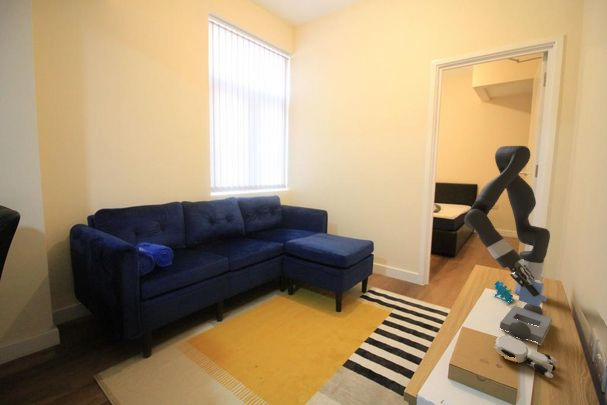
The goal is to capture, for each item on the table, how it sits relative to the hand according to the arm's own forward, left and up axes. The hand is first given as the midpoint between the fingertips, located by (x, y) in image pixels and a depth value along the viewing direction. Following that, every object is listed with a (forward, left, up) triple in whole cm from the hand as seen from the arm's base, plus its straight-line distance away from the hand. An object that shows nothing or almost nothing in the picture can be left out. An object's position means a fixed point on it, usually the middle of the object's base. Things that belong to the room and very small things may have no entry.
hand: (537, 293), depth 103 cm
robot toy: (+20, +14, -15) cm, 29 cm away
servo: (+1, -2, -4) cm, 5 cm away
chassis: (+1, -2, -14) cm, 14 cm away
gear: (-11, -23, -15) cm, 29 cm away
